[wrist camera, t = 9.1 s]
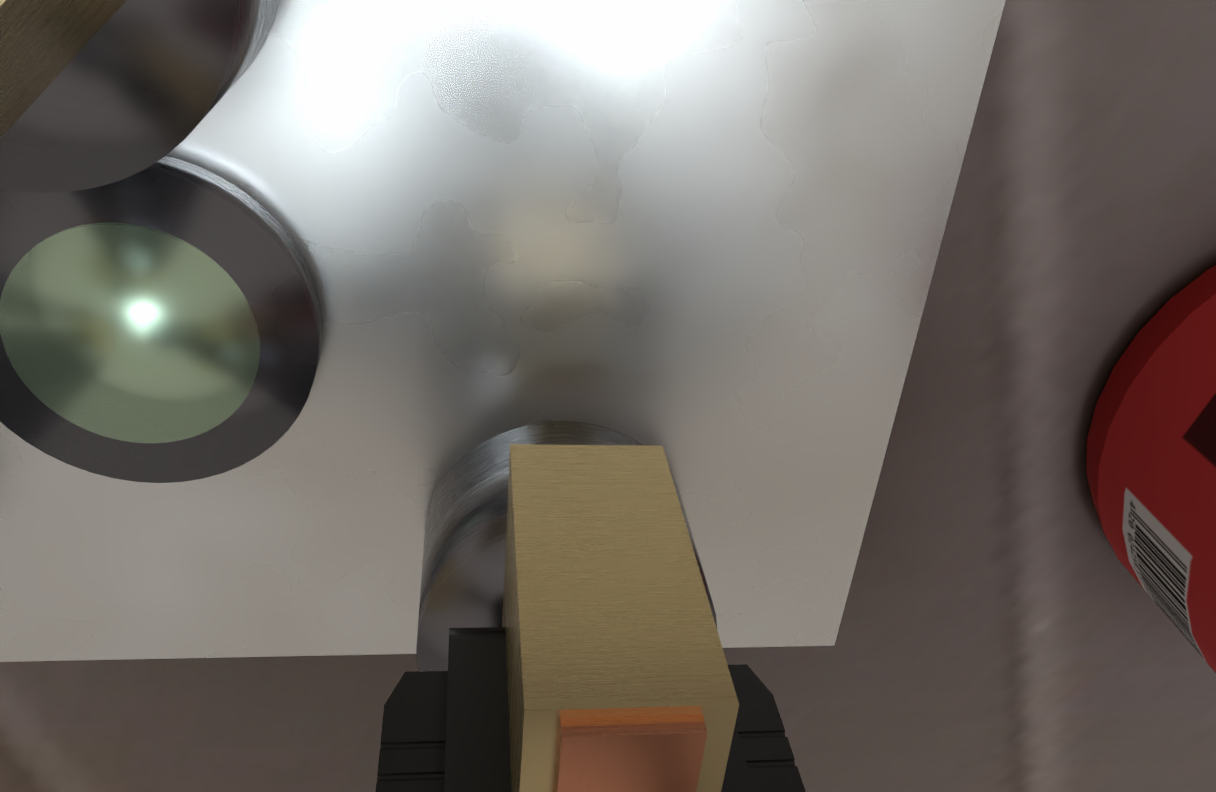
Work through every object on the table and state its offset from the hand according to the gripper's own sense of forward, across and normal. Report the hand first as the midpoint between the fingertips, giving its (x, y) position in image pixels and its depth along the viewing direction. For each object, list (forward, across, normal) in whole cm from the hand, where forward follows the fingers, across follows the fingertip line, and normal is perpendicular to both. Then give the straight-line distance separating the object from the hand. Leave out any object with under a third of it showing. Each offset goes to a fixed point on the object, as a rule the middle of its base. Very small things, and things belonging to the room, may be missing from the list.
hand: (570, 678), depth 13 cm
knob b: (+3, 0, 0) cm, 3 cm away
